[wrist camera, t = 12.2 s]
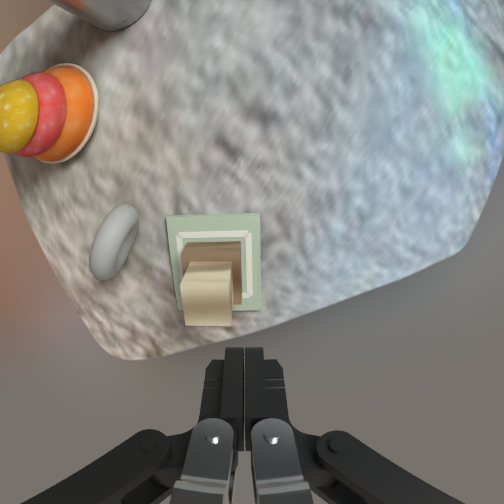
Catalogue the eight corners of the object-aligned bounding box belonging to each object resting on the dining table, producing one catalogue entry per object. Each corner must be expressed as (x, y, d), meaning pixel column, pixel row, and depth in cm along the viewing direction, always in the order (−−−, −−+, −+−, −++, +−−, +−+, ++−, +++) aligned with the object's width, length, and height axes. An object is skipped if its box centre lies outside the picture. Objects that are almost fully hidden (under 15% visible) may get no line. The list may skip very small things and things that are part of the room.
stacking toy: (87, 46, 30) (-6, 13, 11) (119, 130, 35) (22, 138, 16) (18, 101, 31) (-77, 107, 13) (46, 179, 36) (-50, 218, 18)
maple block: (190, 261, 36) (179, 285, 31) (231, 261, 36) (228, 285, 31) (194, 297, 38) (185, 325, 32) (233, 297, 38) (230, 326, 32)
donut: (129, 264, 42) (101, 300, 32) (109, 254, 41) (77, 287, 32) (151, 202, 38) (122, 225, 29) (129, 192, 38) (95, 211, 28)
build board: (167, 215, 39) (165, 217, 38) (259, 212, 39) (259, 214, 38) (179, 307, 44) (178, 310, 43) (260, 307, 44) (260, 310, 43)
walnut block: (187, 242, 40) (180, 254, 36) (240, 241, 39) (239, 253, 36) (192, 289, 42) (187, 304, 38) (242, 289, 42) (241, 304, 38)
